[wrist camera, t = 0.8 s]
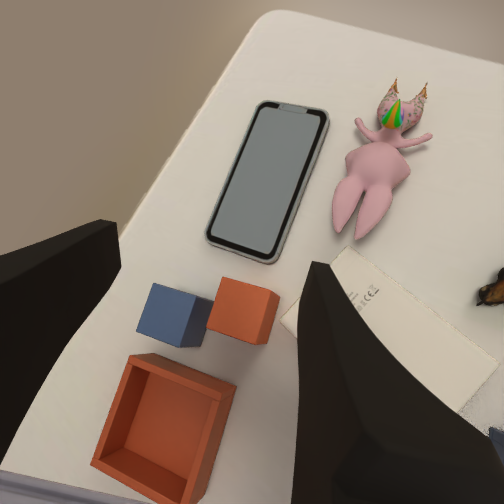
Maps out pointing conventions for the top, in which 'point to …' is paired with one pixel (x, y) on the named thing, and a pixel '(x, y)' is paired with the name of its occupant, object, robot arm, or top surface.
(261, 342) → the terracotta block
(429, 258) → the top surface
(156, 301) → the blue block
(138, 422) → the terracotta bin
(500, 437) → the blue bin
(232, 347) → the top surface
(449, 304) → the top surface
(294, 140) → the smartphone
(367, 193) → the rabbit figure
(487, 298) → the bird model
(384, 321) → the hard drive
